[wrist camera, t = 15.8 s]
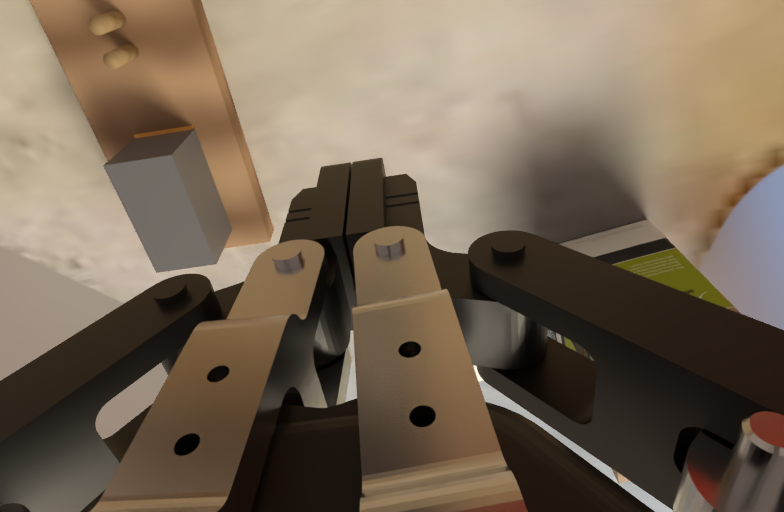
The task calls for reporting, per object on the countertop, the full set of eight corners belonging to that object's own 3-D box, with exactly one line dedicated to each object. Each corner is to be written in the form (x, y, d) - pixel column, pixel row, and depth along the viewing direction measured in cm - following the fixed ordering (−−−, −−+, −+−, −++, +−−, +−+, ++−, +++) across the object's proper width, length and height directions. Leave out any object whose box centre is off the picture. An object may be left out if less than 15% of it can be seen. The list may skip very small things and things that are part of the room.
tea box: (656, 335, 52) (743, 462, 40) (558, 359, 54) (613, 489, 41) (649, 213, 44) (756, 325, 32) (536, 245, 46) (595, 363, 33)
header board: (29, -41, 33) (-22, -36, 28) (179, -68, 32) (149, -67, 28) (163, 245, 45) (141, 278, 40) (273, 229, 44) (263, 261, 40)
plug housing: (134, 138, 37) (103, 165, 33) (194, 129, 37) (171, 154, 33) (178, 237, 42) (156, 272, 38) (232, 229, 41) (216, 263, 37)
